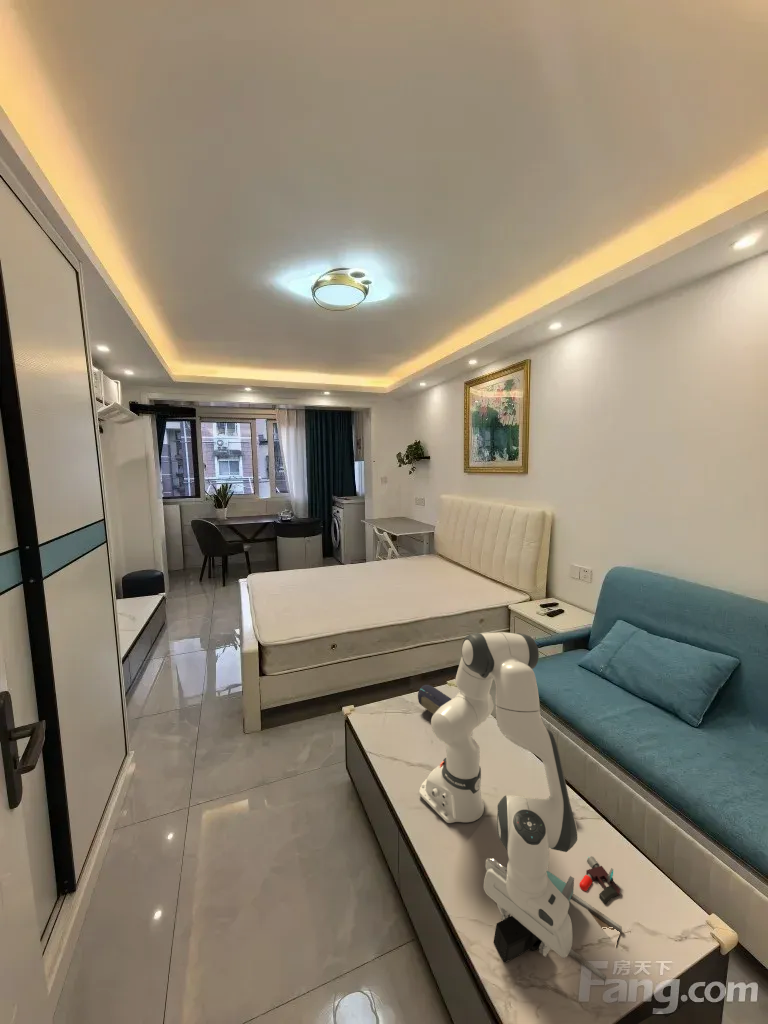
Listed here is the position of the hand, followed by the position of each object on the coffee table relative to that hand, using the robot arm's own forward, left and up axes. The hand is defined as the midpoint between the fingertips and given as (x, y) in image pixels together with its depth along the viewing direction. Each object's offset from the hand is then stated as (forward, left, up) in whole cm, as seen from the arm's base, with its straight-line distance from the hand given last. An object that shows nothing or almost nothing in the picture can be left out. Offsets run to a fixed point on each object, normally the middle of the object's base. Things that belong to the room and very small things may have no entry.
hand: (523, 935), depth 96 cm
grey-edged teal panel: (-1, +13, -4) cm, 14 cm away
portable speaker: (-68, +61, -6) cm, 92 cm away
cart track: (+3, +13, -5) cm, 15 cm away
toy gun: (+7, +29, -6) cm, 30 cm away
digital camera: (-1, 0, -5) cm, 6 cm away
